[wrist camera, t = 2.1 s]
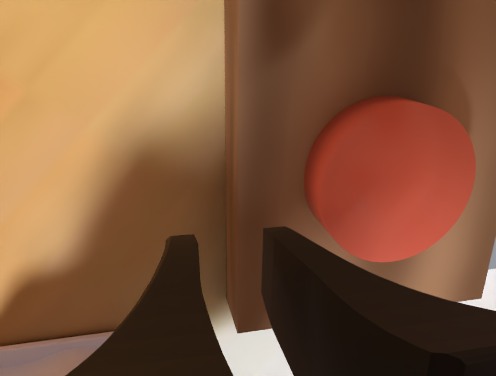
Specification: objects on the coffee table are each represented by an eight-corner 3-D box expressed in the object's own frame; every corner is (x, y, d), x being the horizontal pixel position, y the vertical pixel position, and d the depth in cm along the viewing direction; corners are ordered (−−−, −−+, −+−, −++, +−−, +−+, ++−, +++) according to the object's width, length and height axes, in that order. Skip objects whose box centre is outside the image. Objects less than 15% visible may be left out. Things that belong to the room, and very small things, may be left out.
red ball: (299, 246, 21) (316, 270, 19) (308, 97, 18) (329, 106, 16) (430, 232, 22) (459, 253, 20) (455, 93, 20) (490, 101, 18)
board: (226, 298, 25) (237, 333, 22) (224, -19, 19) (238, -25, 16) (447, 270, 28) (481, 298, 25) (502, -10, 22) (554, -14, 19)
